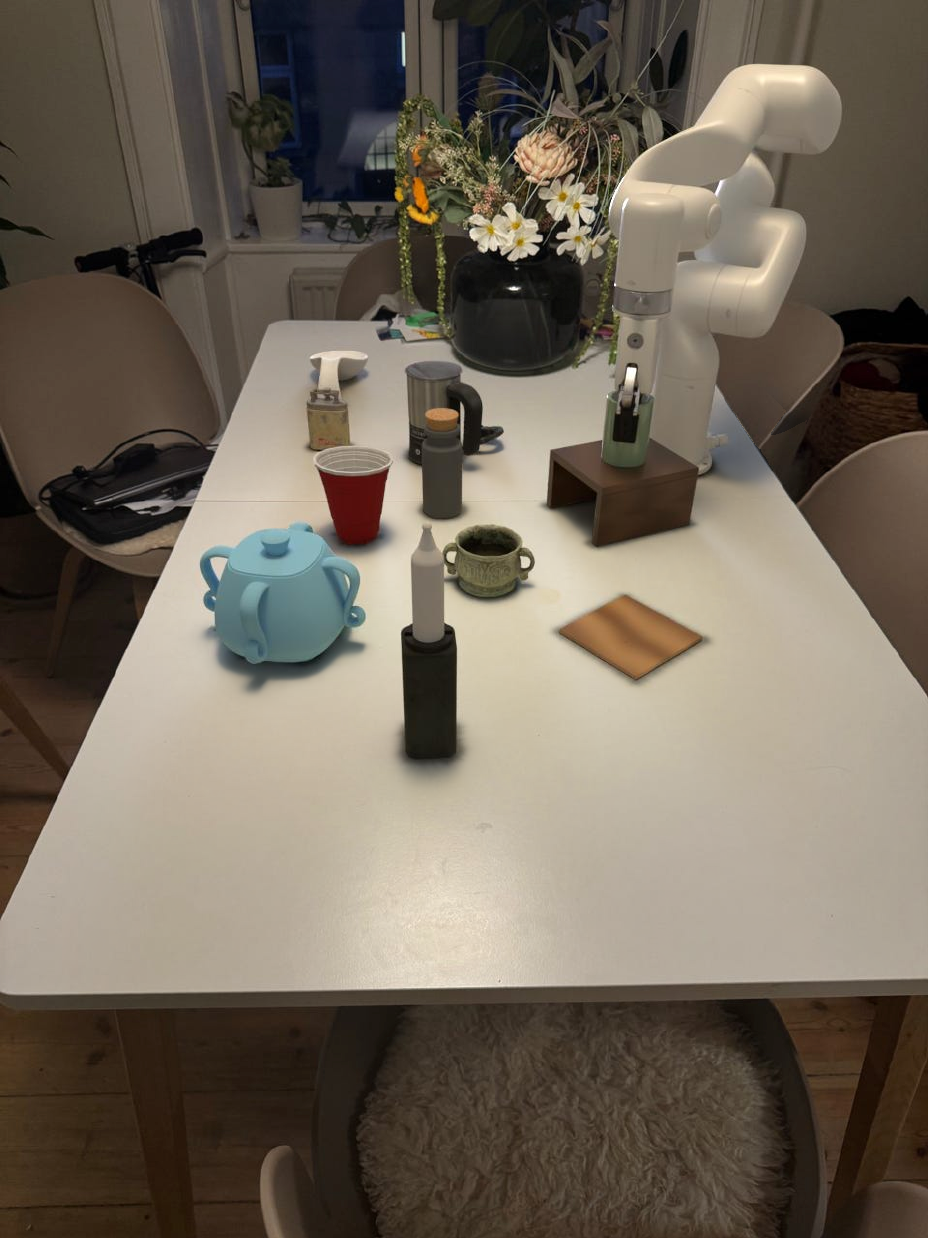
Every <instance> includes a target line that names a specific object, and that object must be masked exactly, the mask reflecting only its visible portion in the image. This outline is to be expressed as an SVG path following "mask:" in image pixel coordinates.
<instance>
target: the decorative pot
mask: <svg viewBox="0 0 928 1238" xmlns="http://www.w3.org/2000/svg"><path fill="white" fill-rule="evenodd" d="M213 558H214V559H215V558H222V559H227V561H226V562H225V564H224V568H223V571H222V574H221V576H220V579H219V577H218V576H217V574H216V572H215V570H214V568H213V566H212V563H211V559H213ZM199 569H200V572H201V575H202V578H203V580H204V581H205V583H206V585H207V587H208V588H209V589H208V590H207V591H205V593H204V595H203V599H202V600H203V601H202V602H203V605H204V607H205V608H206V609H207V610H209V611H211V612H212V613H214V627H215V628H214V629H215V632H216V635H217V637H218V640H219V641H220V642H221V643H222V644H223V645H224V646H226V647H227V648H228V649H229V650H230V651H232V652H233V653H235V654H236V655H238V656H240V657H244V658H245V660H246V661H247V662H248V663H250V664H254V665H255V664H260V663H262V662H273V663H300V662H309V661H311V660H313V659H315V658H316V657H317V656H319V655H321V654H322V653H323V652H325V651H326V650H327V649H328V648H329V647H330V646H331V645H332V644H333V643H334V642H335V640H336V639H337V638H338V636H339V635H340V634H341V632H342V630H343V629H344V627H348V628H351V629H353V628H358V627H361V626H362V625H363V624H364V623H365V621H366V618H367V617H366V611H365V610H364V608H363V607H361V606H360V605H354V604H355V601H356V599H357V596H358V593H359V589H360V586H361V576H360V572H359V569H358V568H357V567H356V566H355V564H353V562H351V561H349V560H348V559H345V558H343V557H339V556H336V555H335V554H334V552H333V551H332V549H331V547H330V546H329V545H328V543H327V542H326V540H324V538H323V537H322V536H321V535H319V534H317V533H315V532H314V529H313V527H312V525H311V524H309V523H307V522H304V521H296V522H293V523H291V524H290V526H289V527H288V528H265V529H259V530H256V531H254V532H252V533H251V534H249V535H247V536H246V537H244V538H243V539H242V540H241V541H240V542H239V543H238V544H237V545H236V546H235V547H231V546H228V545H216V546H212V547H210V548H209V549H207V550H206V551H205V552H204V553H203V554H202V555H201V557H200V561H199ZM346 577H347V578H348V580H349V585H348V581H347V578H346ZM213 597H214V598H215V599H214V598H213Z"/></svg>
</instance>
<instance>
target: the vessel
mask: <svg viewBox="0 0 928 1238" xmlns="http://www.w3.org/2000/svg"><path fill="white" fill-rule="evenodd" d="M441 552H442V554H443V556H444V566H446V569H447V570H446V572H447V574H448V575H452V576H454V575H456V574H458V576H459V577H458V585H459V586H460V588H461V589H462V590H463V591H465V592H466V593H467V594H470V595H472V596H474V597H481V598H496V597H500V596H504V595H506V594H507V593H510V592H511V591H512V590H514V588H515V587H516V579H517V577H519V580H520V581H521V582H523V581H527V580H528V579H529V573H530V572H531V571H532V570H533V569H534V567H535V564H536V560H535V557H534V554H533V552H532V551H531V550H530V549H529V548H527V547H523V538H522V537H521V535H520V534H519V533H518V532H516V531H515V530H513V529H512V528H509V527H506V526H503V525H498V524H475V525H472V526H468V527H466V528H464V529H462V530H460V531H459V532H458V533H457V534H456V535H455V539H454V542H448V543H447V544H446V545H445V546H444V548H443V549H442V551H441ZM450 552H456V553H455V556H454V561H453V562H452V561H449V560H448V556H447V555H448V553H450ZM521 557H524V558H527V559H529V565H528V566H527V567H522V558H521Z"/></svg>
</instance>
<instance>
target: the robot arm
mask: <svg viewBox="0 0 928 1238" xmlns="http://www.w3.org/2000/svg"><path fill="white" fill-rule="evenodd" d="M842 107H843V106H842V100H841V95H840V93H839V91H838V90H837V88H836V87H835V86H834V84H833V83H832V81H831V79H829V77H828V76H827V75H826V74H824V72H822V71H821V70H820V69H818V68H816V67H814V66H810V65H800V64H797V65H796V64H770V63H750V64H745V65H741V66H739V67H736V68H735V69H733V70H732V71H730V72H729V73H728V74H727V75H726V76H725V78H724V79H723V80H722V82H721V83H720V85H719V86H718V88H717V90H716V91H715V93H714V94H713V96H712V97H711V99H710V100H709V102H708V103H707V105H706V107H705V108H704V110H703V112H702V113H701V114H700V116H699V117H698V118H697V121H696V122H695V123H694V126H691V127H689V128H687V129H684V130H682V131H680V132H678V133H676V134H674V135H672V136H670V137H668V138H667V139H664V140H663V141H660V142H658V143H657V144H655V145H653V146H651V147H650V148H648V149H646V150H645V151H644V152H642V153H641V154H640V155H639V156H638V157H637V158H636V159H635V160H634V161H633V163H632V164H631V165H630V167H629V168H628V170H627V171H626V173H625V174H624V176H623V178H622V179H621V180H620V182H619V183H618V186H617V188H616V189H615V192H614V193H613V196H612V199H611V201H610V205H609V209H608V215H607V216H608V218H607V219H608V227H609V229H610V232H611V234H612V235H613V236H614V238H616V239H617V240H618V247H617V257H616V266H615V267H616V268H615V277H614V285H613V297H612V307H611V311H612V313H613V314H615V315H616V316H619V326H618V335H617V343H616V344H617V346H616V355H615V356H616V357H615V370H614V371H615V372H614V391H616V392H617V393H619V398H618V405H617V412H615V418H614V427H613V436H612V440H613V441H615V442H624V443H635V442H636V436H637V429H638V421H639V414H637V413H638V406H639V399H640V392H641V393H643V394H646V396H648V395H649V394H650V395H652V396H653V397H654V406H653V413H652V421H651V428H650V435H649V437H650V438H651V439H653V440H655V441H656V442H658V443H660V444H661V445H663V446H665V447H666V448H668V449H669V450H671V451H673V452H674V453H676V454H678V455H679V456H681V457H683V458H684V459H686V460H687V461H689V462H691V463H692V464H694V465H696V466H697V467H699V471H698V476H700V475H702V474H705V473H707V472H708V471H710V469H711V468H712V464H713V458H712V457H713V456H712V455H711V454H710V451H712V450H713V449H714V448H719V447H724V446H727V445H728V444H729V437H728V435H727V434H726V433H723V434H717V435H714V436H713V434H712V432H711V431H708V430H709V425H710V419H711V415H712V414H711V413H712V408H713V402H714V396H715V390H716V385H717V379H718V374H719V369H720V352H719V348H718V346H717V343H716V340H715V339H714V336H713V334H712V333H714V334H721V335H726V336H732V337H738V338H745V339H758V338H760V337H763V336H764V335H766V334H767V333H768V332H769V331H770V329H771V328H772V326H773V325H774V324H775V321H776V319H777V317H778V314H779V313H780V310H781V308H782V305H783V303H784V300H785V299H786V296H787V294H788V292H789V290H790V287H791V285H792V282H793V280H794V278H795V275H796V273H797V271H798V268H799V265H800V264H801V260H802V258H803V254H804V251H805V248H806V241H807V224H806V220H805V219H804V217H803V216H802V215H801V214H800V213H799V212H798V211H797V212H796V211H795V210H792V209H787V208H781V207H772V206H771V205H772V202H773V200H774V197H775V193H776V187H775V182H774V179H773V177H772V173H771V172H770V170H769V168H768V167H767V165H766V163H765V162H764V161H763V160H762V159H761V157H760V156H759V154H758V153H759V152H771V153H784V154H799V155H810V156H811V155H813V156H814V155H818V154H821V153H823V152H825V151H827V149H828V148H829V147H830V146H831V145H832V144H833V143H834V140H835V139H836V137H837V135H838V132H839V129H840V127H841V122H842V115H843V113H842V112H843V110H842V109H843V108H842ZM717 182H719V183H718V185H717V187H716V190H715V192H713V191H712V190H710V189H707V188H705V187H703V186H707V185H710V184H715V183H717ZM691 252H693V255H694V256H693V257H694V258H695V259H689V260H688V259H687V260H682V261H678V260H679V254H680V253H691ZM619 390H620V391H619ZM633 390H638V391H637V392H636V391H633ZM633 397H635V403H634V400H632V398H633Z"/></svg>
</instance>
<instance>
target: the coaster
mask: <svg viewBox="0 0 928 1238" xmlns="http://www.w3.org/2000/svg"><path fill="white" fill-rule="evenodd" d="M558 633H559V634H561V635H563V636H564V637H566V638H567V639H569V640H570V641H571V642H574V643H575V644H577V645H579V646H580V647H582V648H583V649H585V650H587V651H588V652H590V653H592V654H593V655H594V656H597V657H598V658H600V659H601V660H603V661H605V662H606V663H608V664H609V665H611V666H612V667H613V668H616V669H618V671H621V672H622V673H624V674H625V675H627V676H629V677H630V678H631V679H633V680H635V681H636V680H638V679H640V678H642V677H644V675H646V674H648V673H650V672H651V671H653V670H655V669H656V668H658V667H660V666H661V665H663V664H664V663H666V662H668V661H669V660H671V659H672V658H675V657H676V656H678V655H679V654H681V653H683V652H685V651H686V650H688V649H689V648H691V647H693V646H695V645H696V644H698V643H700V642H701V641H702V640H703V636H702V635H700V634H698V633H697V632H695V631H693V630H691V629H689V628H688V627H685V625H682V624H680V623H678V622H677V621H675V620H673V619H671V618H670V617H667V616H665V615H663V614H662V613H660V612H658V611H656V610H655V609H653V608H651V607H649V606H647V605H646V604H643V603H642V602H640V601H638V600H636V599H635V598H632V597H631V596H629V595H627V594H623V595H622V596H620V597H618V598H615V599H614V600H612V601H610V602H608V603H607V604H605V605H602V606H600V607H599V608H597V609H595V610H593V611H590V612H589V613H587V614H585V615H584V616H582V617H579V618H578V619H576V620H574V621H572V622H570V623H567V624H566V625H564V626H562V627H560V628H558Z"/></svg>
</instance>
